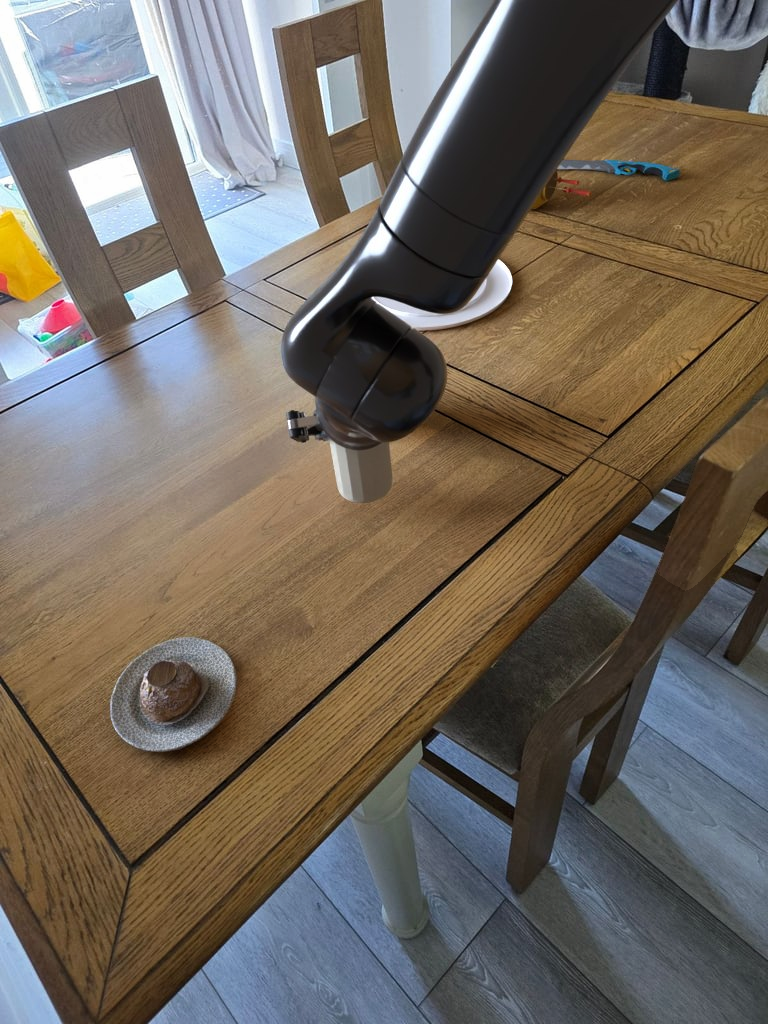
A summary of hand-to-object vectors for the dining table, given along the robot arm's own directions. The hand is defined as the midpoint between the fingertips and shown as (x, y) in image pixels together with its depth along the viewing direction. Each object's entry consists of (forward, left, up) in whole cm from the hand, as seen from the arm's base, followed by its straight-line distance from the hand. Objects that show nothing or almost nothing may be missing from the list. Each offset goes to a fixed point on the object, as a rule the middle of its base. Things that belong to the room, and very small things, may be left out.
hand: (356, 426), depth 77 cm
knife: (-27, -100, -10) cm, 104 cm away
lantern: (-14, -82, -10) cm, 84 cm away
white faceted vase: (-1, +2, -7) cm, 8 cm away
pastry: (+12, +30, -10) cm, 34 cm away
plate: (-1, -49, -10) cm, 51 cm away
